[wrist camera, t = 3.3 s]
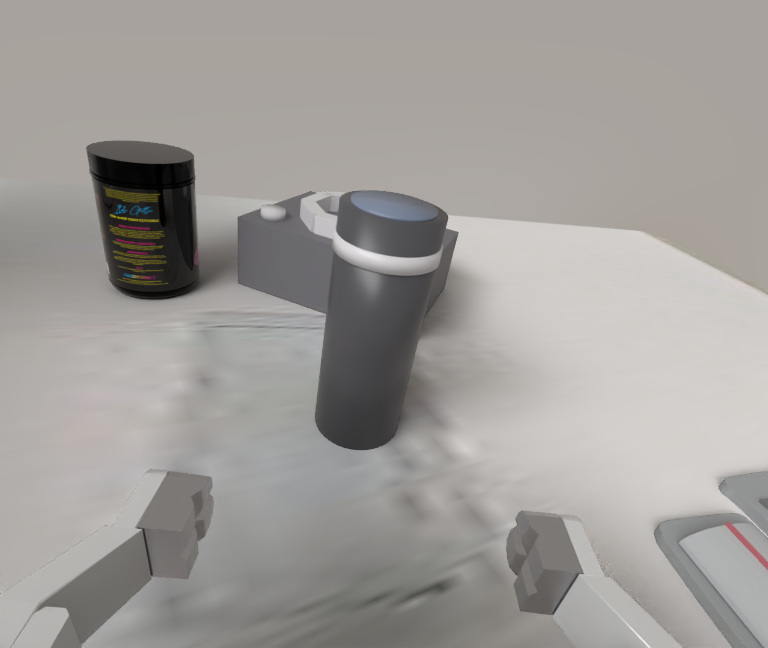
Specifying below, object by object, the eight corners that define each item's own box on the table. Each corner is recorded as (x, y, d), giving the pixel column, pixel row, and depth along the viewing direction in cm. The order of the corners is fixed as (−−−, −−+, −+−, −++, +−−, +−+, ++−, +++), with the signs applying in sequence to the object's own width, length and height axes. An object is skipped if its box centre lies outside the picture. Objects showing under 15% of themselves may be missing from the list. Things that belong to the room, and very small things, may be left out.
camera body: (238, 283, 38) (237, 198, 35) (306, 245, 48) (311, 176, 45) (407, 341, 35) (427, 254, 31) (444, 288, 45) (462, 216, 41)
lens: (296, 429, 25) (316, 200, 18) (337, 380, 29) (365, 181, 23) (380, 464, 24) (434, 233, 17) (410, 408, 28) (461, 206, 21)
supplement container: (207, 298, 36) (201, 166, 30) (110, 306, 32) (84, 160, 27) (193, 263, 40) (186, 144, 35) (108, 268, 37) (86, 137, 32)
